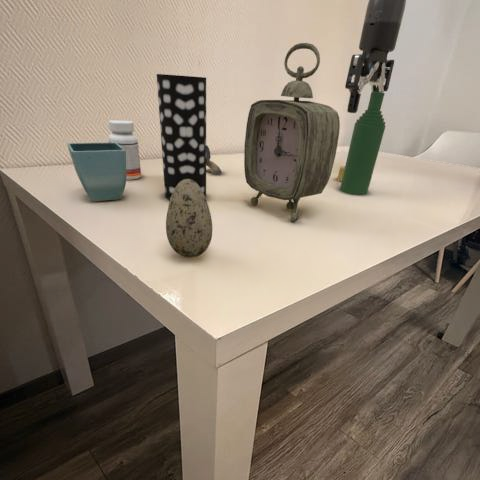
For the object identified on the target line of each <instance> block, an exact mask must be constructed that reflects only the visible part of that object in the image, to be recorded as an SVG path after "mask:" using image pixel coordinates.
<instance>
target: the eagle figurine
mask: <svg viewBox="0 0 480 480" xmlns="http://www.w3.org/2000/svg"><path fill="white" fill-rule="evenodd" d="M206 167H208V168H209V169H210V172H211V173H212V174H213V175H217V176H221V175H222V173H223V171H222V169H221V168H220V167H219V166H218V165H217V164H216V163H215V162H214V161H213V160H211V150H210V148H209V146H208V145H207V144H206Z"/></svg>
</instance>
